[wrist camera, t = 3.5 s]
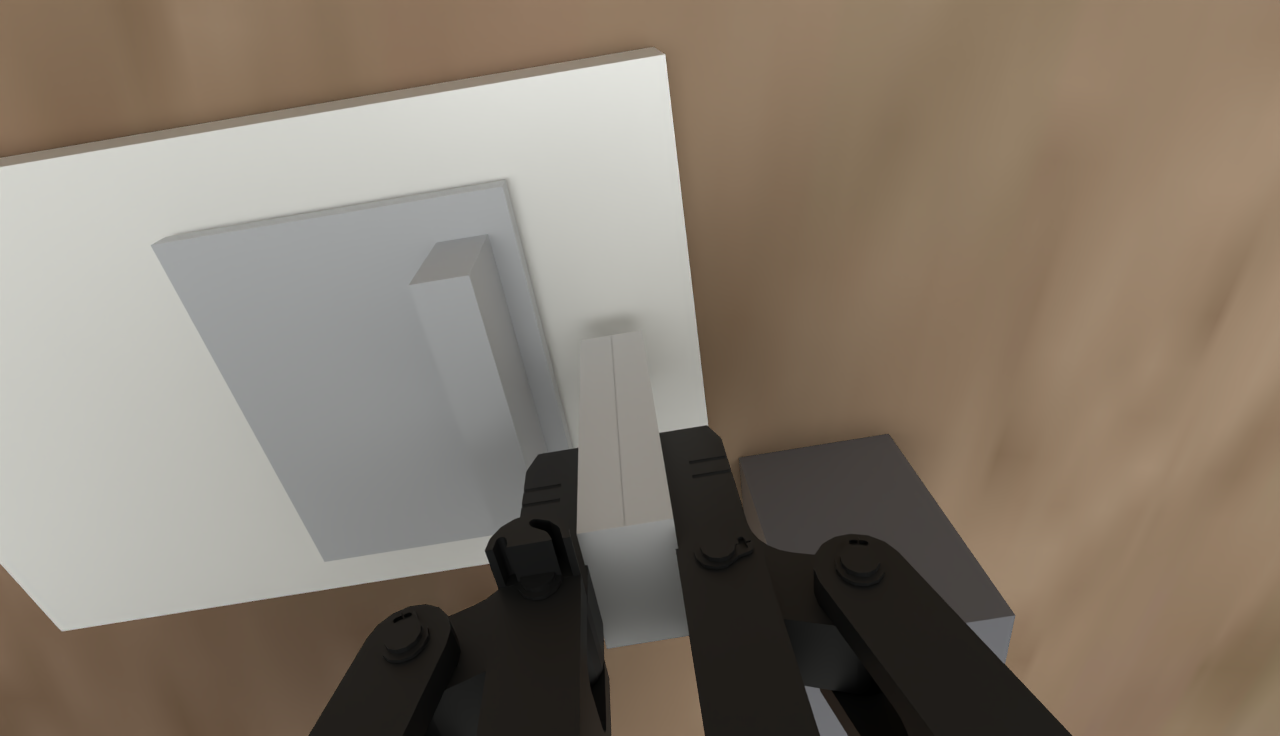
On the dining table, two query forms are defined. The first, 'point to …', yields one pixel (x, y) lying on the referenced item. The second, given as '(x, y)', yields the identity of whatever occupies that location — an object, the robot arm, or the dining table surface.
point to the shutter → (382, 361)
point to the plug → (869, 527)
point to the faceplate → (188, 376)
